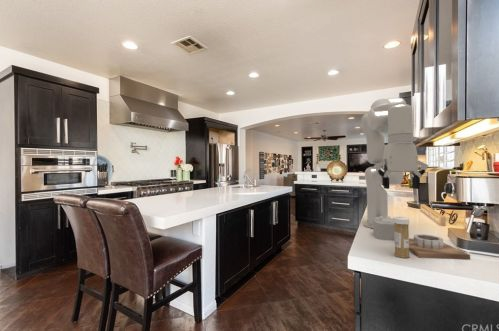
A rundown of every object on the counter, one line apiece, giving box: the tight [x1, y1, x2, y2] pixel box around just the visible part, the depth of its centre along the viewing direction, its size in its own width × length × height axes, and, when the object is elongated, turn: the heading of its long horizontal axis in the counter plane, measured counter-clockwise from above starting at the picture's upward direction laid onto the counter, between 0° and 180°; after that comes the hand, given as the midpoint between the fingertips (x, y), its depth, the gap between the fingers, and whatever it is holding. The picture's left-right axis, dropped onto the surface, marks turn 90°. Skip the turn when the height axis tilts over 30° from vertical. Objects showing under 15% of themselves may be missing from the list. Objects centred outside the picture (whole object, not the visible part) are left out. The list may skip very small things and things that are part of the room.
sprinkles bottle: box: [393, 216, 410, 259], centre depth 85 cm, size 5×5×14 cm
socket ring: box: [413, 233, 444, 250], centre depth 91 cm, size 9×9×3 cm
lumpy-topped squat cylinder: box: [372, 215, 395, 242], centre depth 109 cm, size 10×13×9 cm
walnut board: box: [394, 237, 471, 260], centre depth 91 cm, size 18×16×2 cm
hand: (400, 188), depth 85 cm, fingers open, 9 cm apart
